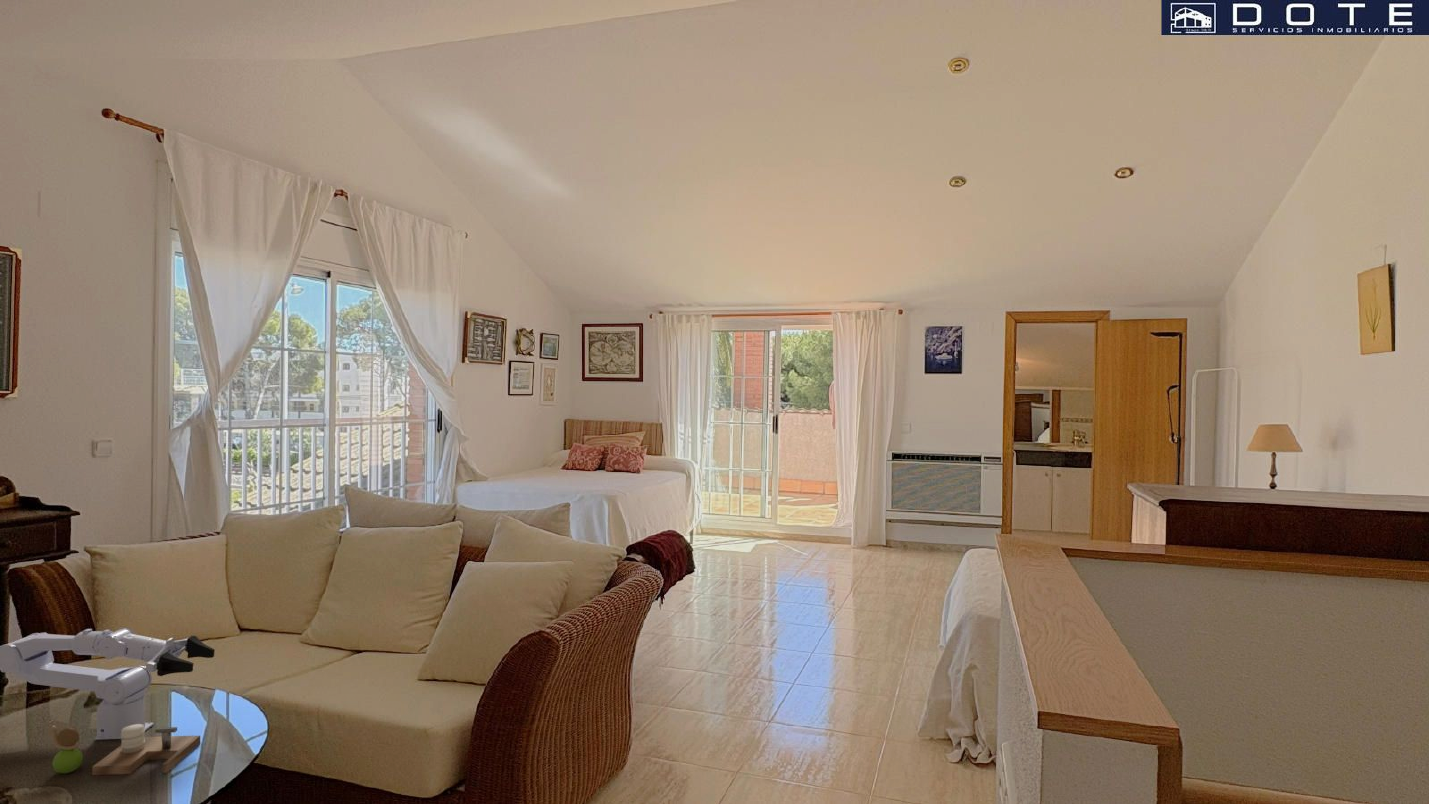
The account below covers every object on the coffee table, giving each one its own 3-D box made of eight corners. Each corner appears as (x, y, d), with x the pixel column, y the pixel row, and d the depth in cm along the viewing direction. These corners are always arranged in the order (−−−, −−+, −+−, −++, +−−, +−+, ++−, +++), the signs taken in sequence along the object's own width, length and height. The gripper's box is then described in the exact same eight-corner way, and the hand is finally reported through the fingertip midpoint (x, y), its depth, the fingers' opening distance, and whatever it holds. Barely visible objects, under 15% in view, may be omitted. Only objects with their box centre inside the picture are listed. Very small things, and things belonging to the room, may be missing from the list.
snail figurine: (59, 766, 185) (58, 715, 184) (88, 765, 185) (87, 715, 184) (42, 778, 179) (40, 726, 178) (72, 777, 180) (70, 726, 179)
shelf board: (92, 775, 181) (92, 766, 181) (131, 745, 195) (131, 737, 195) (166, 772, 183) (166, 764, 182) (200, 743, 196) (200, 735, 196)
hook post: (154, 750, 189) (154, 730, 189) (159, 746, 191) (158, 726, 190) (174, 749, 189) (173, 729, 189) (178, 745, 191) (178, 726, 191)
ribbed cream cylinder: (116, 753, 187) (116, 733, 186) (129, 744, 191) (128, 724, 191) (137, 753, 187) (137, 732, 187) (149, 743, 192) (149, 723, 191)
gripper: (129, 648, 192) (183, 659, 192) (173, 623, 206) (223, 633, 206) (127, 675, 193) (181, 685, 193) (171, 648, 208) (221, 658, 207)
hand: (203, 660), depth 199 cm, fingers open, 7 cm apart
